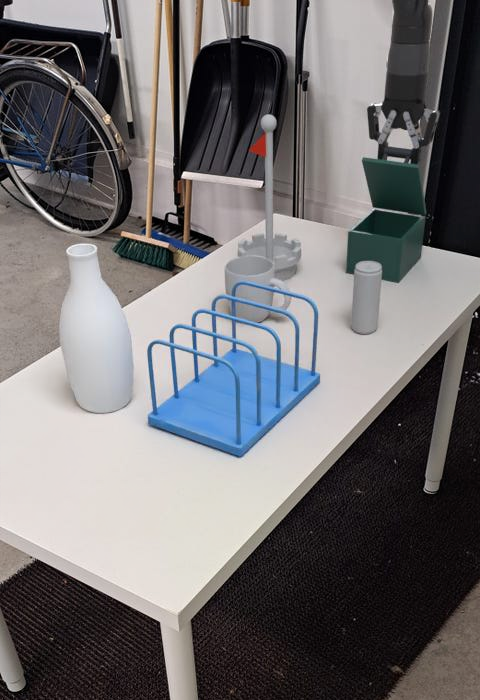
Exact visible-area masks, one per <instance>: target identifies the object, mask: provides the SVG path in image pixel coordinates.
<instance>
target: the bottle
mask: <svg viewBox="0 0 480 700" xmlns="http://www.w3.org/2000/svg"><path fill="white" fill-rule="evenodd" d="M65 255H66V256H67V260H68V267H69V276H70V283H69V286H68V288H67V291H66V293H65V297H64V299H63V300H62V304H61V309H60V315H59V323H58V324H59V325H58V326H59V328H58V330H59V331H58V333H59V345H60V349H61V353H62V359H63V362H64V366H65V370H66V375H67V378H68V380H69V383H70V384H69V385H70V386H71V389H72V391H73V395H74V397H75V400H76V402H77V404H78V405H79V406H80V407H81V408H82V409H83V410H85V411H87V412H88V413H89V412H90V413H95V414H108V413H113V412H116V411H120V410H121V409H123V408H124V407H126V406H127V405H128V404H129V402H130V401H131V400H132V398H133V393H134V390H133V389H134V356H133V355H134V354H133V341H132V334H131V330H130V326H129V324H128V320H127V317H126V314H125V312H124V310H123V307H122V305H121V303H120V302H119V299H118V297H117V296H116V295H115V293H114V292H113V291H112V290H111V288H110V287H109V286H108V284H107V283H106V282H105V280H103V278H102V274H101V269H100V263H99V259H98V247H97V245H95V244H92V243H76V244H73V245H71V246H69V247H68V248H66V249H65Z"/></svg>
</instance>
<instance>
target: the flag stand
mask: <svg viewBox="0 0 480 700" xmlns="http://www.w3.org/2000/svg"><path fill="white" fill-rule="evenodd" d="M260 127H261V129H262V130H263V134H262V136H260V137H259V139H257V141H256V142H255V143H254V144H253V145H252V146H251V147H250V148H249V149H248V151H249V152H251V153H253V154H255V155H259V156H261V157H264V199H265V200H264V201H265V202H264V206H265V208H264V209H265V211H264V212H265V213H264V215H265V218H264V219H265V233H263V232H262V233H257V234H252V235H251V240H250V241H248V239H246V238H242V239H241V240H240V241H238V242H237V252H236V253H237V257H241V256H260V257H264V258H267V259H269V260H271V261H272V262H273V264H274V274H275V279H279V280H281V281H285V280H288V279H291V278H292V277H293V276H295V274H296V273H297V264H298V263H299V262H300V261H301V259H302V242H301V240H299V239H298V238H297V237H294V238H291V240H289V239H288V234H285V233H278V232H275V233H274V130H275V129H276V128H277V119H276V117H275V116H274V115H272V114H271V113H269V114H265V115H264V116H263V117H262V118H261V119H260Z"/></svg>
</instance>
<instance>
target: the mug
mask: <svg viewBox="0 0 480 700" xmlns="http://www.w3.org/2000/svg"><path fill="white" fill-rule="evenodd" d="M239 281H249V282H253V283H257V284H261V285H265V286H269V287H273V288H277V289H281V290H285V291H289V292H291V290H290V288H289V287H288V285H287V284H286V283H285V282H284V280H282V281H281V280H279V279H275V274H274V264H273V262H272V261H271V260H269V259H267V258H264V257H260V256H241V257H238V256H236V257H234V258H232V259H230V260H228V262H226V263H225V265H224V287H225V295H229V296H232V289H233V286H234V285H235V284H236V283H238V282H239ZM274 294H275V292H272V291H268V290H264V289H260V288H256V287H252V286H248V285H239V286H238V287H237V288H236V293H235V297H237V298H241V299H245V300H249V301H252V302H256V303H260V304H264V305H268V306H271V307H273V300H274ZM283 298H284V302H283V304H281V305H280V306H274V307H275V308H279V309H282V310H286V311H287V309H288V308H289V307H290V306H291V301H292V297H291V296H287V295H284V294H283ZM226 301H227V305H228V308H229V312H230V314H231V315H232V301H231V300H227V299H226ZM235 312H236V317H238V318H241V319H245V320H248V321H252V322H255V323H260V322H263V321H264V320H266V318H268V317H269V315H270V314H274V315H275V314H276V315H277V314H279V313H277V312H273V311H269V310H266V309H262V308H258V307H255V306H251V305H247V304H243V303H239V302H235Z"/></svg>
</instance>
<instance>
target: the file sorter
mask: <svg viewBox="0 0 480 700" xmlns="http://www.w3.org/2000/svg"><path fill="white" fill-rule="evenodd" d="M239 285H248V286H252V287H256V288H260V289H264V290H268V291H272V292H274V293H277V294H280V295H283V296H284V295H287V296H291V298H295V299H299V300H302V301H305V302H306V303H308V304H309V305H310V307H311V308H312V310H313V335H312V354H311V368H310V370H309V369H306V368H302V367H299V365H300V324H299V322H298V320H297V318H296V317H295V316H294V315H293V314H292V313H291V312H290V311H288V310H287V309H286V310H282V309H279V308H275V307H276V306H272V307H271V306H268V305H264V304H260V303H256V302H252V301H249V300H245V299H241V298H237V297H235V293H236V288H237V287H238V286H239ZM219 300H226V301H227V300H231V301H232V314H231V315H230V314H226V313H223V312H219V311H216V305H217V302H218V301H219ZM235 302H239V303H243V304H247V305H251V306H255V307H258V308H262V309H266V310H269V311H273V312H277V313H278V314H281V315H284V316H286V317H288V318H289V319H290V320H291V321H292V323H293V325H294V331H295V332H294V333H295V335H294V338H295V339H294V365H293V364H290V363H287V362H282V344H281V339H280V337H279V335H278V334H277V333H276V331H275V330H274V329H273V328H272V327H270V326H268V325H265V324H262V323H260V322H258V323H255V322H252V321H248V320H245V319H241V318H238V317H236V312H235ZM200 314H206V315H210V316H211V329H212V331H210V330H207V329H203V328H199V327H197V320H196V319H197V316H198V315H200ZM217 317H218V318H221V319H225V320H229V321H231V336H232V337H230V336H227V335H223V334H220V333H218V332H217ZM237 323H239V324H243V325H247V326H250V327H254V328H257V329H261V330H262V331H263V330H264V331H266V332H267V333H269V334H270V335H271V336H272V337H273V338H274V340H275V344H276V359H273V358H269V357H267V356H262V355H259V353H258V351H257V350H256V349H255V348H254V347H253V345H251V344H250V343H248V342H247V341H244V340H241V339H237ZM178 329H184V330H187V331H189V332H190V331H191V339H192V340H191V341H192V348H190V347H188V346H184V345H180V344H176V343H175V338H174V337H175V331H176V330H178ZM318 329H319V310H318V307H317V305H316V303H315V301H313V300H312V299H311V298H310V297H308V296H306V295H304V294H299V293H296V292H292V291H290V292H289V291H285V290H281V289H279V288H278V287H274V288H273V287H269V286H265V285H261V284H257V283H253V282H249V281H239V282H238V283H236V284H235V285H234V286H233V289H232V296H229V295H226V294H218V295H216V297H214V298H213V300H212V302H211V309H209V308H199V309H197V310H195V312H194V313H192V317H191V325H189V324H188V325H187V324H184V323H178V324H175V325H173V326H172V328H171V329H170V331H169V335H168V336H169V337H168V338H169V341H167V340H163V339H154V340H153V341H151V342H149V344H148V346H147V350H146V351H147V352H146V354H147V355H146V356H147V365H148V366H147V367H148V377H149V386H150V396H151V398H150V399H151V405H152V411H151V412H150V413H148V414H147V424H148V425H150V426H152V427H153V426H154V427H156V428H159V429H161V430H165V431H168V432H171V433H174V434H176V435H179V436H182V437H185V438H187V439H190V440H193V441H195V442H198V443H201V444H204V445H207V446H209V447H213V448H215V449H218V450H221V451H223V452H227V453H228V454H231V455H235V456H238V457H242V456H243V455H244V454H245V453H246V452H247V451H249V449H250V448H252V446H254V445H255V444H256V443H257V442H258V441H259V440H260V439H261V438H263V436H264V435H265V434H266V433H267V432H268V431H269V430H271V429H272V428H273V427H274V426H275V425H276V424H277V423H278V422H279V421H280V420H281V419H282V418H283V417H284V416H286V415H287V414H288V413H289V412H290V411H291V410H293V408H294V407H296V405H297V404H298V403H300V401H301V400H303V399H304V398H305V397H306V396H307V395H308V394H310V392H311V391H312V390H313V389H314V388H315V387H316V386H318V384H320V383H321V373H320V372H316V366H317V365H316V364H317V349H318V348H317V346H318V333H319V332H318V331H319V330H318ZM197 334H201V335H205V336H208V337H212V349H213V354H210V353H207V352H203V351H200V350H198V344H197V343H198V342H197ZM218 339H219V340H222V341H226V342H228V343H232V348H231V349H230V350H229V351H227V352H226V353H225V354H224V355H222V356H221V357H219V356H218ZM155 345H162V346H165V347H169V351H170V362H171V372H172V373H171V374H172V380H173V381H172V383H173V385H172V386H173V392H174V393H173V394H172V395H171V396H170V397H169V398H167V399H166V400H165V401H163V402H162V403H161V404H160V405H159V406H157V395H156V387H155V386H156V385H155V375H154V367H153V366H154V365H153V364H154V363H153V353H152V352H153V347H154V346H155ZM237 345H238V346H242V347H245V348H246V349H248V350H249V351H250V352H248V351H245V350H242V349H239V348H237ZM175 349H176V350H179V351H182V352H185V353H189V354H191V355H192V357H193V371H194V378H193V379H191V380H190V381H189V382H188V383H187V384H185V385H184V386H183V387H182V388H180V389H179V386H178V375H177V374H178V373H177V364H176V362H177V361H176V354H175V353H176V352H175ZM198 356H199V357H202V358H204V359H208V360H211V361H213V363H211V365H210V366H208V367H207V368H206V369H204V370H203V371H202V372H201V373H199V361H198V358H199V357H198Z"/></svg>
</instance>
